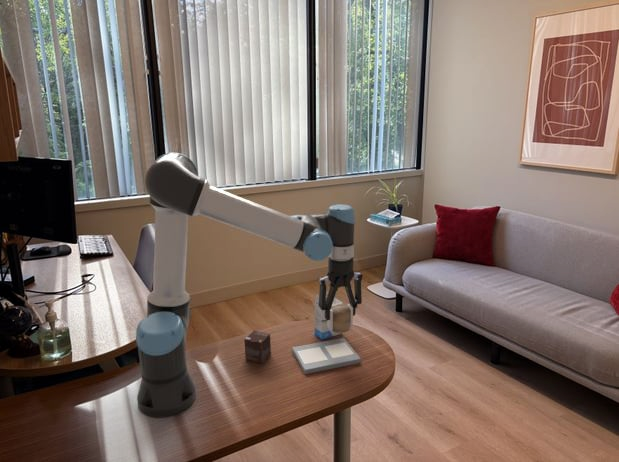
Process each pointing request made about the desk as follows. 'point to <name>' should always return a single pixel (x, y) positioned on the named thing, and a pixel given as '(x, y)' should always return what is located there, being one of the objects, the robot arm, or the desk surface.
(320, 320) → the ink box
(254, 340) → the box
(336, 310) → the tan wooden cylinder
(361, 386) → the desk surface
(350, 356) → the grey tray with squares
